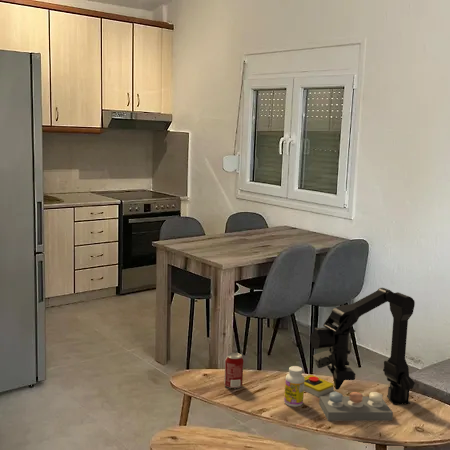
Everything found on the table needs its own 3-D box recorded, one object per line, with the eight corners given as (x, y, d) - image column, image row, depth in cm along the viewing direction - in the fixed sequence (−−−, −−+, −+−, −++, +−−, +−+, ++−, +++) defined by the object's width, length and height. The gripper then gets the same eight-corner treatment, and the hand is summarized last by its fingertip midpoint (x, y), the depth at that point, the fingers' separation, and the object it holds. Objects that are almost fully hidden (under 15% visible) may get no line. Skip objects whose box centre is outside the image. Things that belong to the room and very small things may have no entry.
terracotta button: (360, 396, 202) (360, 392, 202) (364, 402, 198) (364, 397, 198) (347, 396, 202) (348, 392, 202) (351, 402, 198) (351, 397, 197)
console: (379, 404, 208) (380, 395, 207) (392, 420, 196) (393, 411, 195) (319, 404, 206) (319, 395, 205) (327, 420, 194) (328, 411, 193)
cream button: (379, 396, 203) (380, 392, 203) (384, 402, 199) (384, 397, 198) (367, 396, 203) (367, 392, 202) (371, 402, 198) (371, 397, 198)
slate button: (340, 396, 202) (340, 391, 201) (343, 402, 197) (344, 397, 197) (327, 396, 201) (328, 391, 201) (331, 402, 197) (331, 397, 197)
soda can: (242, 390, 214) (243, 359, 213) (224, 389, 214) (225, 358, 213) (242, 382, 221) (243, 352, 219) (224, 381, 221) (225, 351, 219)
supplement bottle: (280, 402, 206) (282, 368, 204) (291, 397, 210) (293, 363, 208) (295, 409, 201) (297, 373, 199) (306, 403, 206) (309, 368, 204)
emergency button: (308, 369, 226) (340, 383, 215) (307, 380, 227) (339, 394, 216) (292, 375, 220) (324, 389, 209) (291, 386, 221) (323, 401, 210)
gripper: (310, 335, 205) (307, 377, 207) (323, 355, 187) (320, 401, 189) (341, 335, 206) (338, 377, 208) (357, 355, 188) (353, 401, 190)
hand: (336, 389), depth 199 cm, fingers closed
